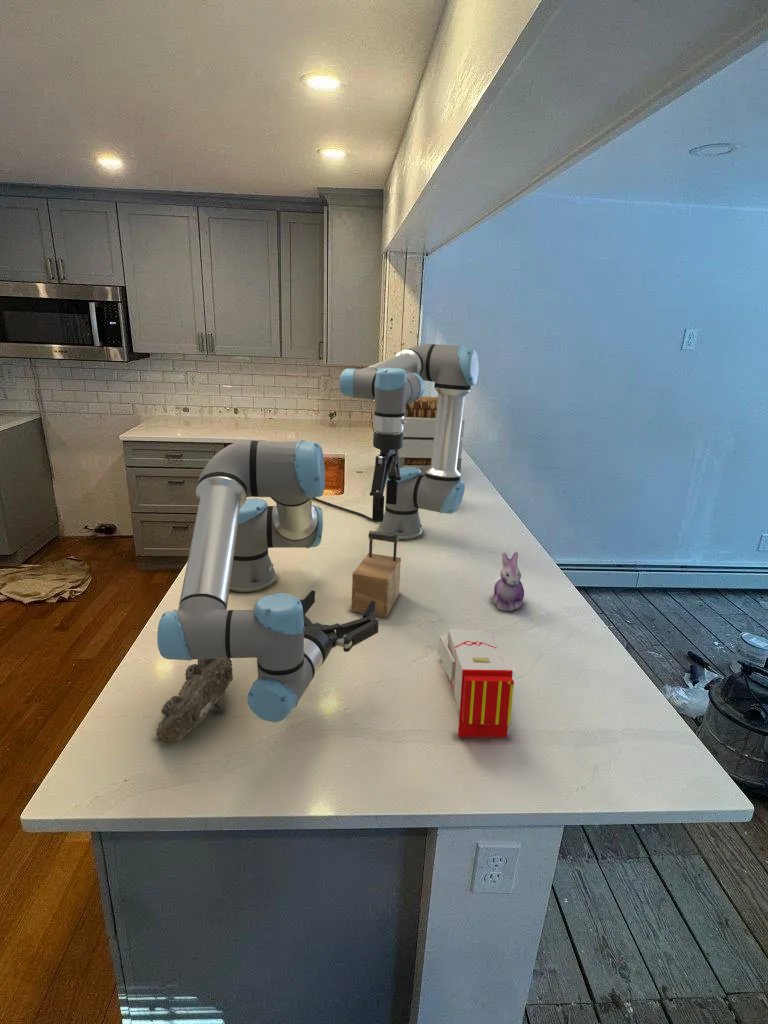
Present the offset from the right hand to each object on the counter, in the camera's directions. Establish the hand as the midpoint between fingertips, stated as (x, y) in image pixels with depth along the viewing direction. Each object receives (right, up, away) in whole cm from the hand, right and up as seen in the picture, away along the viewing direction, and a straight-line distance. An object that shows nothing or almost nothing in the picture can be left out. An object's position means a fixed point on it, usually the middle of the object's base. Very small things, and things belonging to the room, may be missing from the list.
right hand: (384, 511), depth 149 cm
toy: (+18, -38, -31) cm, 52 cm away
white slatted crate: (+17, +19, +126) cm, 128 cm away
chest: (-2, -24, +4) cm, 25 cm away
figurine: (+34, -25, +6) cm, 43 cm away
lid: (-2, -15, +1) cm, 15 cm away
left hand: (-9, -19, -27) cm, 34 cm away
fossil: (-36, -38, -39) cm, 65 cm away
